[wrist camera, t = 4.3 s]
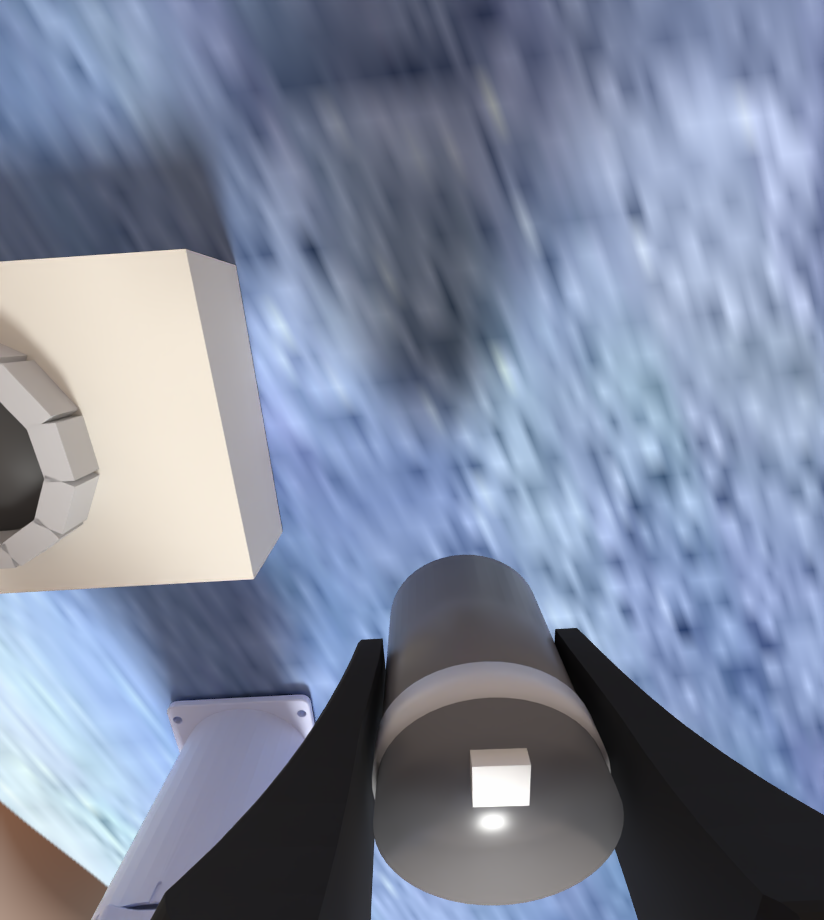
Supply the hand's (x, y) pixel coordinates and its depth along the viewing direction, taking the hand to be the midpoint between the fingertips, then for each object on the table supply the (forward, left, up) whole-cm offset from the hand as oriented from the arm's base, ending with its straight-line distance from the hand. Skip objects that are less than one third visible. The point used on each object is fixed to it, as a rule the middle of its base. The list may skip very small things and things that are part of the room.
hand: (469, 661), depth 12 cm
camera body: (+6, +17, -9) cm, 20 cm away
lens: (0, 0, -2) cm, 2 cm away
